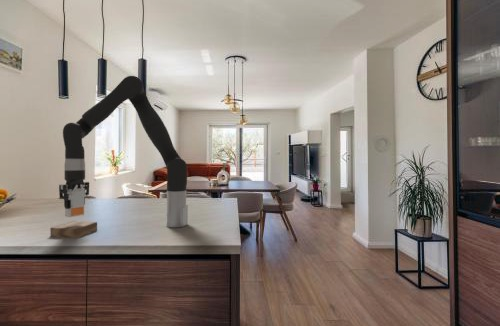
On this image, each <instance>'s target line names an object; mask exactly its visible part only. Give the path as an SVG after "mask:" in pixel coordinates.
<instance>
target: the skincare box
mask: <svg viewBox="0 0 500 326" xmlns="http://www.w3.org/2000/svg"><path fill="white" fill-rule="evenodd" d="M71 191H72V189H69V190H68V191H67V192H71ZM84 191H85V192H86V190H85V189H84V188H77V189H76V190H75V193H74V195H72V197H71V199H70V200H71V208H70V209H65V208H64V211H65V212H64V216H65V217H67V218H73V217H79V216H84V215H85V205H84ZM68 196H69V195H68Z"/></svg>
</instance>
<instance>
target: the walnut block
mask: <svg viewBox="0 0 500 326" xmlns="http://www.w3.org/2000/svg"><path fill="white" fill-rule="evenodd" d="M96 231H98V221H78V220H72V221H68V222H65V223H62V224H59V225H55V226H52V227H50V237H54V238H55V237H56V238H58V237H59V238H76V239H77V238H79V237H82V236H85V235H87V234H90V233H93V232H96Z"/></svg>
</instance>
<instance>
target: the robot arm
mask: <svg viewBox="0 0 500 326" xmlns="http://www.w3.org/2000/svg"><path fill="white" fill-rule="evenodd" d="M127 100H129V102H130V103H131V105H132V106H133V108H134V109H135V112H136V113H137V115H138V118H139V120H140V123H141V125H142V127H143V129H144V131H145V133H146V134H147V137H148V138H149V140H150V141H151V143H152V144H153V146H154V147H155V148H156V150H157V151H158V153H160V156H161V157H162V160H163V163H164V166H165V167H166V227H167V228H184V227H185V226H187V225H188V224H189V223H188V220H189V219H188V217H189V216H188V215H189V212H188V211H189V209H188V206H189V205H188V204H187V184H188V165H187V162H186V161H185V160H184V159H183V158H182V157H181V156H180V155H179V154H178V152H177V150H176V149H175V147H174V144H173V141H172V139H171V136H170V133H169V131H168V129H167V127H166V125H165V123H164V121H163V120H162V118H161V116H160V115H159V114H158V112H157V111H156V110H155V109H154V108H153V106H152V105H151V104H152V103H150V101H149V98H148V96H147V94H146V91H145V89H144V84H143V82H142V80H141V79H140V78H139V77H138V76H135V75H127V76H125V77H124V78H123V79H122V80H121V81H120V82H119V83H118V84H117V86H116V87H115V88H114V89H113V90H112V91H111V92H109V93H108V94H107V95H106V96H105V97H104V98H102V99H101V100H100V101H99V102H97V103H96V104H94V105H93V106H92V107H90V108H89V109H88V110H86V111H85V112H84V113H83V114H82V115H81V118H79V119H78V120H77V121H76V122H69V123H66V124H65V125H64V126H63V129H62V138H63V139H62V140H63V142H64V143H63V144H64V166H63V168H64V169H63V170H64V171H63V172H64V180H65V181H66V182H65V184H58V189H59V190H58V191H59V193H58V194H59V199H60V200H63V204H64V210H65V209H70V208H71V200H70V199H71V197H72V195H74V193H75V190H76V189H77V188H84V189H85V191H84V206H85V204H86V197H87V196H88V195H90V182H89V181H84V180H86V161H85V147H84V146H83V139H84V138H86V136H88V135H89V134H90V133H91V132H92V131H93V130H94V129H95V127H97V126H98V125H100V124H101V123H102V122H104V121H106V119H107V118H109V116H111V115H112V114H113V113H114V111H115V110H116V109H117V108H118V107H119V106H120V105H121V104H123V103H124V102H126V101H127ZM69 189H72V191H71V192H67V191H68V190H69ZM68 195H69V196H68Z"/></svg>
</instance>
